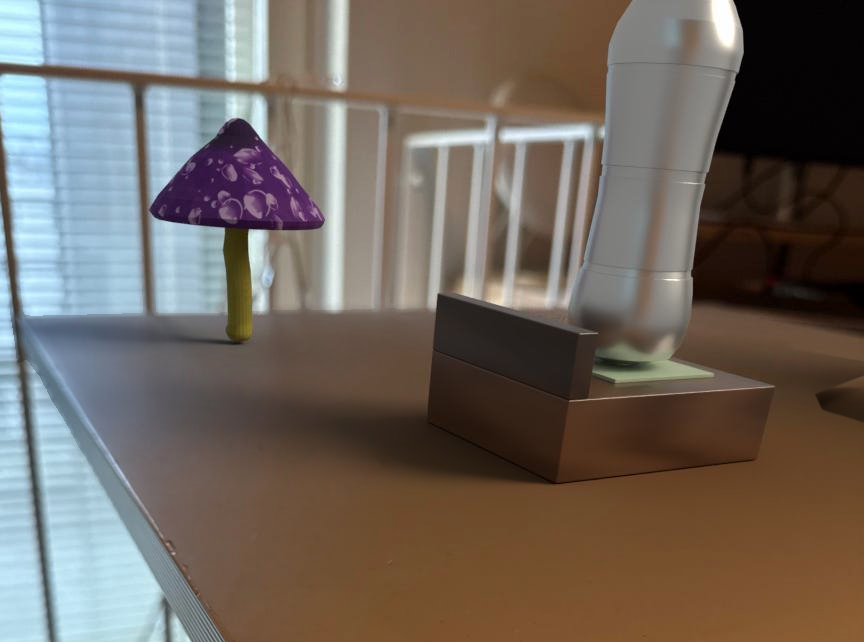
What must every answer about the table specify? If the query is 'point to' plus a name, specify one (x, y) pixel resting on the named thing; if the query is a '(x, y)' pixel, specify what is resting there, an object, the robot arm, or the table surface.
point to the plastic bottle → (654, 173)
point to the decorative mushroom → (237, 205)
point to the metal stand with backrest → (581, 398)
